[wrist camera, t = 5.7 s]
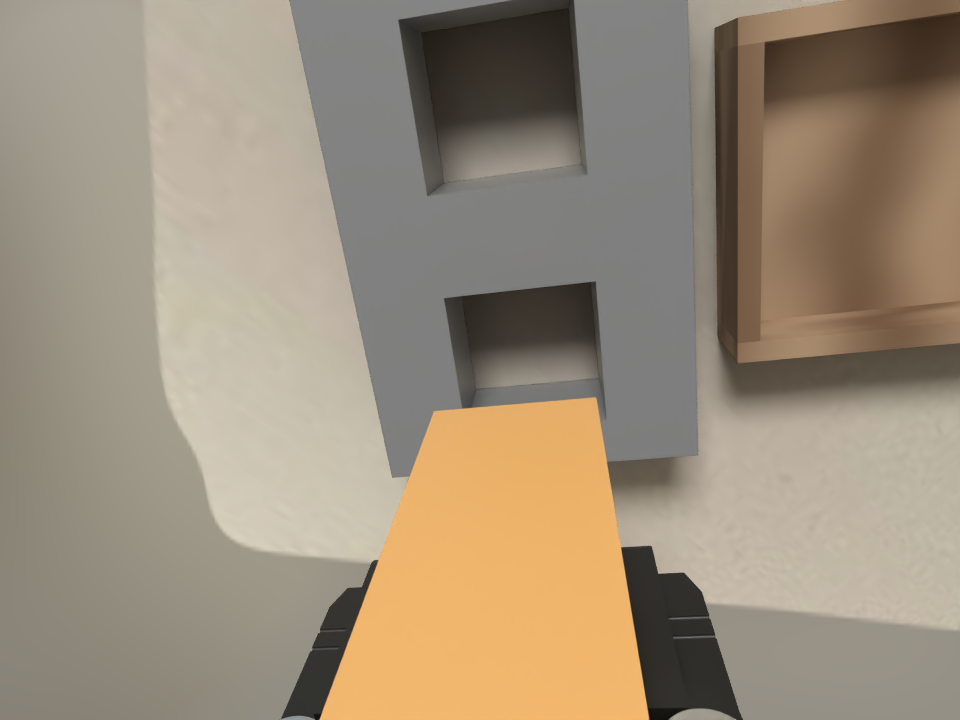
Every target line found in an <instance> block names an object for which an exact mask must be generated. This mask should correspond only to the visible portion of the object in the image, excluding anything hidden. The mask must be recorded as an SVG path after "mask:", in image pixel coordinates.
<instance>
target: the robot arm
mask: <svg viewBox="0 0 960 720" xmlns="http://www.w3.org/2000/svg"><path fill="white" fill-rule="evenodd" d="M621 551H622V557H623V563H624V569H625V575H626V581H627V587H628V593H629V599H630V606H631V612H632V618H633V624H634V630H635V636H636V642H637V648H638V654H639V660H640V666H641V673H642V679H643V685H644V691H645V697H646V703H647V709H648V715H649V720H743V719H742V717H741V714H740V712H739V710H738V706H737V703H736V699H735V696H734V693H733V690H732V687H731V684H730V680H729V677H728V674H727V671H726V668H725V664H724V661H723V658H722V655H721V652H720V649H719V646H718V642H717V639H716V638H715V632H714V629H713V626H712V623H711V620H710V619H709V613H708V611H707V607H706V604H705V601H704V597H703V594H702V592H701V591H700V589H699V588H698V587H697V586H696V585H695V584H694V583H693V582H692V581H691V580H690V579H689V578H688V577H687V575H686V574H685V573H666V574H658V571H657V567H656V563H655V558H654V554H653V550H652V547H651V546H640V547H621ZM378 561H379V560H374V561H373V562H372V563H371V565H370V568H369V571H368V573H367V576H366V578H365V581H364V583H363V586H362V587H360V588H347V589H346V590H345V592H344V593H343V594H342V595H341V596H340V597H339V598H338V599H337V600H336V601H335V602H334V603H333V604H332V605H331V606H330V607H329V610H328V612H327V614H326V617H325V619H324V621H323V624H322V626H321V628H320V633H318V635H317V637H316V640H315V642H314V644H313V647H312V648H313V650H312V651H311V652H310V654H309V656H308V658H307V661H306V663H305V665H304V667H303V670H302V672H301V674H300V677H299V679H298V681H297V683H296V686H295V688H294V690H293V693H292V695H291V698H290V700H289V702H288V704H287V707H286V709H285V711H284V713H283V716H282V718H281V720H320V717H321V714H322V712H323V709H324V706H325V704H326V701H327V698H328V695H329V693H330V690H331V687H332V685H333V682H334V679H335V677H336V674H337V671H338V669H339V666H340V663H341V660H342V658H343V655H344V652H345V650H346V647H347V644H348V642H349V639H350V636H351V633H352V631H353V628H354V625H355V623H356V620H357V617H358V615H359V612H360V609H361V607H362V604H363V601H364V598H365V596H366V593H367V590H368V588H369V585H370V582H371V580H372V577H373V574H374V572H375V569H376V566H377V563H378Z"/></svg>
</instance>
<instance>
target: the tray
mask: <svg viewBox="0 0 960 720" xmlns="http://www.w3.org/2000/svg"><path fill="white" fill-rule="evenodd" d="M715 109H716V208H717V306H718V338H719V339H720V340H721V342H722V343H723V344H724V346H725V347H726V348H727V350H728V351H729V352H730V354H731V355H732V356H733V358H734V359H735V361H736V362H737V363H747V362H758V361H769V360H780V359H791V358H802V357H813V356H824V355H835V354H846V353H857V352H868V351H879V350H890V349H901V348H912V347H923V346H934V345H945V344H956V343H960V0H845V1H839V2H832V3H826V4H820V5H814V6H808V7H801V8H795V9H789V10H783V11H776V12H770V13H764V14H758V15H752V16H745V17H739V18H736V19H734V20H732V21H729V22H727V23H725V24H723V25H721V26H718V27H716V28H715Z"/></svg>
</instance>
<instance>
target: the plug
mask: <svg viewBox="0 0 960 720" xmlns="http://www.w3.org/2000/svg"><path fill="white" fill-rule="evenodd" d="M320 720H649V715H648V709H647V703H646V697H645V691H644V685H643V679H642V673H641V666H640V660H639V654H638V648H637V642H636V636H635V630H634V624H633V618H632V612H631V606H630V599H629V593H628V587H627V581H626V575H625V569H624V563H623V557H622V551H621V545H620V539H619V533H618V526H617V520H616V514H615V508H614V502H613V496H612V490H611V484H610V478H609V472H608V466H607V459H606V453H605V447H604V441H603V435H602V429H601V423H600V417H599V411H598V405H597V399H596V397H593V398H582V399H570V400H558V401H547V402H535V403H523V404H512V405H500V406H488V407H477V408H465V409H454V410H442V411H434V413H433V415H432V418H431V421H430V423H429V426H428V429H427V431H426V434H425V437H424V439H423V442H422V445H421V448H420V450H419V453H418V456H417V458H416V461H415V464H414V466H413V469H412V472H411V474H410V477H409V480H408V483H407V485H406V488H405V491H404V493H403V496H402V499H401V501H400V504H399V507H398V510H397V512H396V515H395V518H394V520H393V523H392V526H391V528H390V531H389V534H388V536H387V539H386V542H385V545H384V547H383V550H382V553H381V555H380V558H379V561H378V563H377V566H376V569H375V572H374V574H373V577H372V580H371V582H370V585H369V588H368V590H367V593H366V596H365V598H364V601H363V604H362V607H361V609H360V612H359V615H358V617H357V620H356V623H355V625H354V628H353V631H352V633H351V636H350V639H349V642H348V644H347V647H346V650H345V652H344V655H343V658H342V660H341V663H340V666H339V669H338V671H337V674H336V677H335V679H334V682H333V685H332V687H331V690H330V693H329V695H328V698H327V701H326V704H325V706H324V709H323V712H322V714H321V717H320Z"/></svg>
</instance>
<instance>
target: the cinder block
mask: <svg viewBox="0 0 960 720" xmlns="http://www.w3.org/2000/svg"><path fill="white" fill-rule="evenodd" d="M289 1H290V6H291V10H292V15H293V19H294V24H295V29H296V33H297V38H298V43H299V47H300V52H301V57H302V61H303V66H304V71H305V75H306V80H307V84H308V89H309V94H310V98H311V103H312V108H313V112H314V117H315V122H316V126H317V131H318V136H319V140H320V145H321V149H322V154H323V159H324V163H325V168H326V173H327V177H328V182H329V187H330V191H331V196H332V200H333V205H334V210H335V214H336V219H337V224H338V228H339V233H340V238H341V242H342V247H343V252H344V256H345V261H346V265H347V270H348V275H349V279H350V284H351V289H352V293H353V298H354V303H355V307H356V312H357V317H358V321H359V326H360V330H361V335H362V340H363V344H364V349H365V354H366V358H367V363H368V368H369V372H370V377H371V382H372V386H373V391H374V395H375V400H376V405H377V409H378V414H379V419H380V423H381V428H382V433H383V437H384V442H385V446H386V451H387V456H388V460H389V465H390V470H391V474H392V478H393V477H407V476H410V474H411V472H412V469H413V466H414V464H415V461H416V458H417V456H418V453H419V450H420V448H421V445H422V442H423V439H424V437H425V434H426V431H427V429H428V426H429V423H430V421H431V418H432V415H433V413H434V411H442V410H454V409H465V408H477V407H488V406H500V405H512V404H523V403H535V402H547V401H558V400H570V399H582V398H593V397H596V399H597V405H598V411H599V417H600V423H601V429H602V435H603V441H604V447H605V453H606V459H607V462H613V461H627V460H640V459H654V458H668V457H681V456H695V455H698V428H697V385H696V342H695V299H694V255H693V212H692V169H691V125H690V82H689V39H688V0H289ZM565 8H569V17H570V30H571V42H572V54H573V67H574V79H575V92H576V104H577V116H578V129H579V141H580V153H581V165H573V166H566V167H559V168H551V169H544V170H536V171H529V172H522V173H514V174H507V175H499V176H492V177H485V178H477V179H470V180H463V181H455V182H448V183H444V179H443V172H442V166H441V159H440V153H439V146H438V140H437V133H436V127H435V120H434V114H433V107H432V101H431V94H430V88H429V82H428V75H427V69H426V62H425V56H424V49H423V43H422V36H421V33H422V32H428V31H434V30H440V29H446V28H452V27H458V26H464V25H470V24H476V23H482V22H488V21H494V20H499V19H505V18H511V17H517V16H523V15H529V14H535V13H541V12H547V11H553V10H559V9H565ZM585 282H591V290H592V302H593V314H594V327H595V339H596V351H597V364H598V376H599V379H587V380H576V381H565V382H554V383H543V384H532V385H521V386H510V387H499V388H488V389H477V390H476V386H475V380H474V373H473V367H472V360H471V354H470V347H469V341H468V334H467V328H466V321H465V315H464V308H463V302H462V296H467V295H476V294H485V293H494V292H504V291H513V290H522V289H531V288H540V287H549V286H558V285H567V284H576V283H585Z"/></svg>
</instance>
